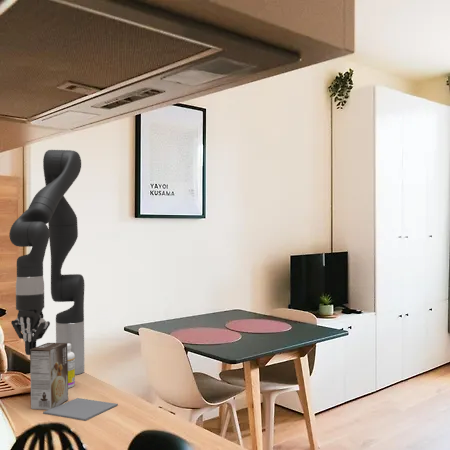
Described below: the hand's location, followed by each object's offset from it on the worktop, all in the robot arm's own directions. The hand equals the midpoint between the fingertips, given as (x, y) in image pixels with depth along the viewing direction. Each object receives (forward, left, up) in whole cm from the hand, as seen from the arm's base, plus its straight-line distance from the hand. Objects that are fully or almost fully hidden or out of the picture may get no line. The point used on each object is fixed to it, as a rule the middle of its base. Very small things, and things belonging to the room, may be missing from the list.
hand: (30, 354), depth 148 cm
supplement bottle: (-2, +15, -13) cm, 20 cm away
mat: (+18, 0, -13) cm, 22 cm away
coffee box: (+7, 0, -13) cm, 15 cm away
